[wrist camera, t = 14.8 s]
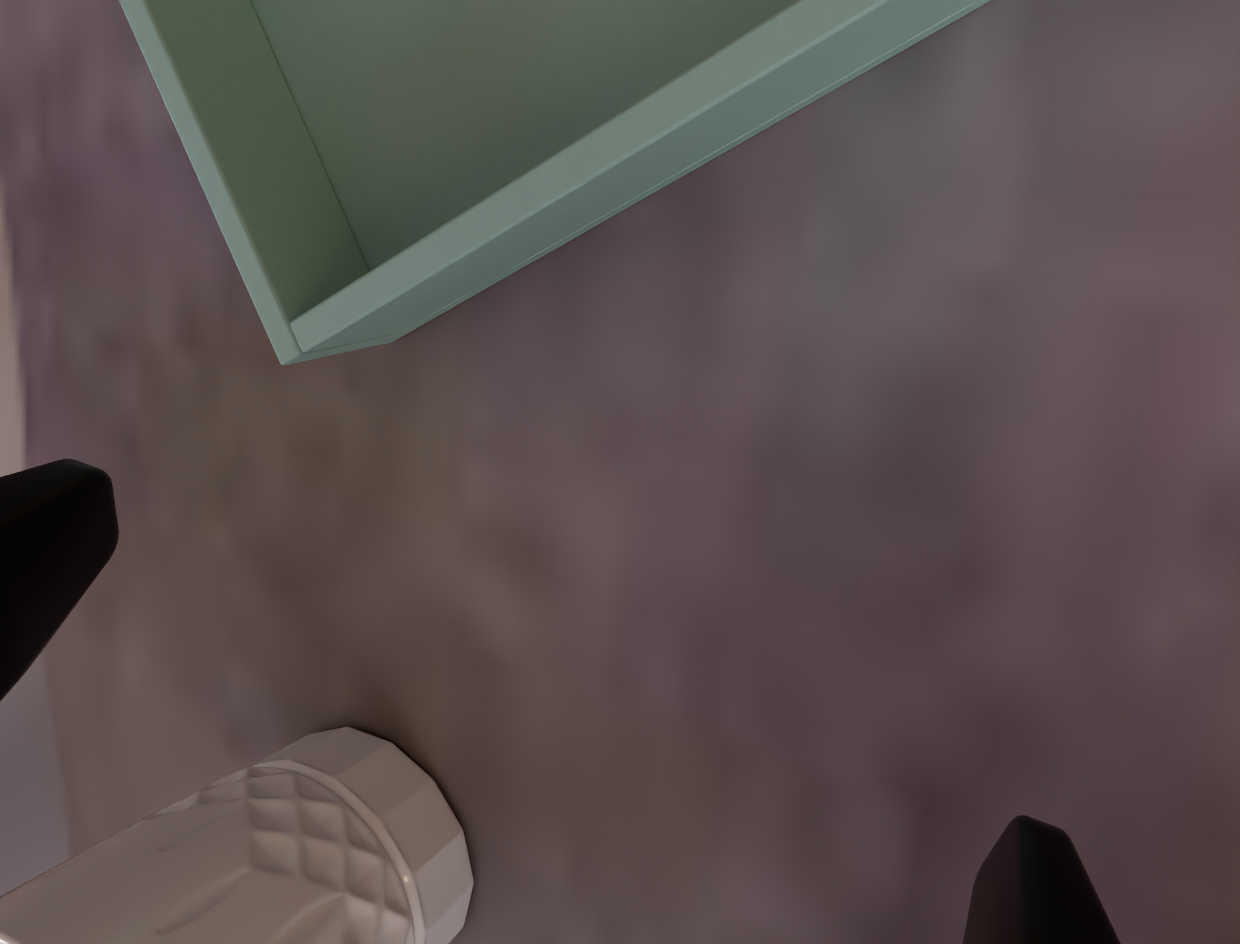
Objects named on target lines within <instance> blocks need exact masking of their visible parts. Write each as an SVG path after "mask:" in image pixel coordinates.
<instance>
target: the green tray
mask: <svg viewBox="0 0 1240 944" xmlns="http://www.w3.org/2000/svg"><path fill="white" fill-rule="evenodd" d="M119 1H120V4H121V6H122V8H123V10H124V13H125V15H126V17H127V19H128V22H129V24H130V26H131V28H132V31H133V33H134V35H135V37H136V40H137V42H138V44H139V46H140V49H141V51H142V53H143V55H144V58H145V60H146V62H147V64H148V67H149V69H150V71H151V73H152V76H153V78H154V80H155V82H156V85H157V87H158V89H159V91H160V94H161V96H162V98H163V100H164V103H165V105H166V107H167V109H168V112H169V114H170V116H171V118H172V121H173V123H174V125H175V127H176V130H177V132H178V134H179V136H180V139H181V141H182V143H183V145H184V148H185V150H186V152H187V154H188V157H189V159H190V161H191V163H192V166H193V168H194V170H195V172H196V175H197V177H198V179H199V181H200V184H201V186H202V188H203V190H204V193H205V195H206V197H207V199H208V202H209V204H210V206H211V208H212V211H213V213H214V215H215V217H216V220H217V222H218V224H219V226H220V229H221V231H222V233H223V235H224V238H225V240H226V242H227V244H228V247H229V249H230V251H231V253H232V256H233V258H234V260H235V262H236V265H237V267H238V269H239V271H240V274H241V276H242V278H243V280H244V283H245V285H246V287H247V289H248V292H249V294H250V296H251V298H252V301H253V303H254V305H255V307H256V310H257V312H258V314H259V316H260V319H261V321H262V323H263V325H264V328H265V330H266V332H267V334H268V337H269V339H270V341H271V343H272V346H273V348H274V350H275V352H276V355H277V357H278V359H279V361H280V363H281V364H282V365H288V364H293V363H297V362H302V361H307V360H311V359H316V358H320V357H325V356H330V355H334V354H339V353H343V352H348V351H353V350H357V349H362V348H366V347H371V346H376V345H379V344H386V343H391V342H394V341H395V340H397V339H399V338H401V337H402V336H404V335H406V334H408V333H409V332H411V331H413V330H415V329H416V328H418V327H420V326H422V325H423V324H425V323H427V322H429V321H430V320H432V319H434V318H436V317H437V316H439V315H441V314H443V313H444V312H446V311H448V310H450V309H451V308H453V307H455V306H457V305H458V304H460V303H462V302H464V301H465V300H467V299H469V298H471V297H472V296H474V295H476V294H478V293H479V292H481V291H483V290H485V289H486V288H488V287H490V286H492V285H493V284H495V283H497V282H499V281H500V280H502V279H504V278H506V277H507V276H509V275H511V274H513V273H514V272H516V271H518V270H520V269H521V268H523V267H525V266H527V265H528V264H530V263H532V262H534V261H535V260H537V259H539V258H541V257H542V256H544V255H546V254H548V253H549V252H551V251H553V250H555V249H556V248H558V247H560V246H562V245H563V244H565V243H567V242H569V241H570V240H572V239H574V238H576V237H577V236H579V235H581V234H583V233H584V232H586V231H588V230H590V229H591V228H593V227H595V226H597V225H598V224H600V223H602V222H604V221H605V220H607V219H609V218H611V217H612V216H614V215H616V214H618V213H619V212H621V211H623V210H625V209H626V208H628V207H630V206H632V205H633V204H635V203H637V202H639V201H640V200H642V199H644V198H646V197H647V196H649V195H651V194H653V193H654V192H656V191H658V190H660V189H662V188H663V187H665V186H667V185H669V184H670V183H672V182H674V181H676V180H677V179H679V178H681V177H683V176H684V175H686V174H688V173H690V172H691V171H693V170H695V169H697V168H698V167H700V166H702V165H704V164H705V163H707V162H709V161H711V160H712V159H714V158H716V157H718V156H719V155H721V154H723V153H725V152H726V151H728V150H730V149H732V148H733V147H735V146H737V145H739V144H740V143H742V142H744V141H746V140H747V139H749V138H751V137H753V136H754V135H756V134H758V133H760V132H761V131H763V130H765V129H767V128H768V127H770V126H772V125H774V124H775V123H777V122H779V121H781V120H782V119H784V118H786V117H788V116H789V115H791V114H793V113H795V112H796V111H798V110H800V109H802V108H803V107H805V106H807V105H809V104H810V103H812V102H814V101H816V100H817V99H819V98H821V97H823V96H824V95H826V94H828V93H830V92H831V91H833V90H835V89H837V88H838V87H840V86H842V85H844V84H845V83H847V82H849V81H851V80H852V79H854V78H856V77H858V76H859V75H861V74H863V73H865V72H866V71H868V70H870V69H872V68H873V67H875V66H877V65H879V64H880V63H882V62H884V61H886V60H887V59H889V58H891V57H893V56H894V55H896V54H898V53H900V52H901V51H903V50H905V49H907V48H908V47H910V46H912V45H914V44H915V43H917V42H919V41H921V40H922V39H924V38H926V37H928V36H929V35H931V34H933V33H935V32H936V31H938V30H940V29H942V28H943V27H945V26H947V25H949V24H950V23H952V22H954V21H956V20H957V19H959V18H961V17H963V16H964V15H966V14H968V13H970V12H971V11H973V10H975V9H977V8H978V7H980V6H982V5H984V4H985V3H987V2H989V1H991V0H119Z"/></svg>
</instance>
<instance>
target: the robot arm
mask: <svg viewBox="0 0 1240 944" xmlns="http://www.w3.org/2000/svg"><path fill="white" fill-rule="evenodd" d="M118 536H119V529H118V522H117V515H116V508H115V501H114V494H113V487H112V482H111V479H110V477H109V476H108V474H107V473H106V472H104V471H103V470H101V469H98V468H96V467H93V466H90V465H88V464H85V463H82V462H80V461H77V460H73V459H63V460H58V461H54V462H51V463H48V464H44V465H41V466H37V467H34V468H30V469H27V470H24V471H21V472H17V473H13V474H10V475H6V476H3V477H0V701H1V700H2V699H3V698H4V697H5V696H6V695H7V693H8V692H9V691H10V690H11V689H12V688H13V686H14V685H15V684H16V683H17V682H18V681H19V679H20V678H21V677H22V676H23V675H24V673H25V672H26V671H27V670H28V668H29V667H30V666H31V665H32V663H33V662H34V661H35V659H36V658H37V657H38V656H39V654H40V653H41V652H42V650H43V649H44V647H45V646H46V645H47V643H48V642H49V641H50V639H51V638H52V637H53V635H54V634H55V633H56V631H57V630H58V628H59V627H60V626H61V624H62V623H63V622H64V620H65V619H66V618H67V616H68V615H69V614H70V612H71V611H72V609H73V608H74V607H75V605H76V604H77V603H78V601H79V600H80V599H81V597H82V596H83V594H84V593H85V592H86V590H87V589H88V588H89V586H90V585H91V584H92V582H93V581H94V580H95V578H96V577H97V575H98V574H99V573H100V571H101V570H102V569H103V567H104V566H105V565H106V563H107V562H108V561H109V559H110V558H111V556H112V554H113V552H114V550H115V548H116V545H117V542H118ZM963 944H1121V943H1120V941H1119V939H1118V937H1117V935H1116V933H1115V931H1114V929H1113V927H1112V925H1111V922H1110V920H1109V918H1108V916H1107V914H1106V912H1105V910H1104V908H1103V906H1102V904H1101V902H1100V899H1099V897H1098V895H1097V893H1096V891H1095V889H1094V887H1093V885H1092V883H1091V881H1090V878H1089V876H1088V874H1087V872H1086V870H1085V868H1084V866H1083V864H1082V862H1081V860H1080V858H1079V855H1078V853H1077V851H1076V849H1075V847H1074V845H1073V843H1072V841H1071V839H1070V837H1069V836H1068V835H1067V834H1066V833H1065V832H1064V831H1063V830H1062V829H1060V828H1058V827H1055V826H1053V825H1050V824H1047V823H1045V822H1042V821H1039V820H1036V819H1034V818H1031V817H1028V816H1025V815H1020V816H1017V817H1015V818H1014V819H1013V820H1012V821H1011V822H1010V823H1009V825H1008V826H1007V828H1006V829H1005V831H1004V832H1003V834H1002V835H1001V837H1000V838H999V840H998V841H997V843H996V844H995V846H994V847H993V849H992V850H991V852H990V853H989V855H988V856H987V858H986V859H985V861H984V862H983V864H982V865H981V867H980V870H979V872H978V874H977V877H976V880H975V883H974V887H973V891H972V896H971V902H970V907H969V913H968V918H967V924H966V929H965V935H964V940H963Z"/></svg>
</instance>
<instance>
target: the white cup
mask: <svg viewBox="0 0 1240 944" xmlns="http://www.w3.org/2000/svg"><path fill="white" fill-rule="evenodd" d="M473 885H474V879H473V875H472V870H471V865H470V860H469V855H468V850H467V846H466V841H465V836H464V832H463V829H462V827H461V825H460V823H459V822H458V820H457V818H456V817H455V815H454V813H453V812H452V810H451V808H450V806H449V805H448V803H447V801H446V800H445V798H444V796H443V795H442V793H441V791H440V790H439V788H438V786H437V785H436V783H435V781H434V780H433V779H432V778H431V777H430V776H429V775H428V774H427V773H426V772H425V771H423V770H422V769H421V768H420V767H419V766H418V765H417V764H416V763H414V762H413V761H412V760H411V759H410V758H409V757H408V756H407V755H405V754H404V753H403V752H402V751H401V750H400V749H399V748H397V747H396V746H395V745H394V744H393V743H391V742H389V741H386V740H384V739H381V738H378V737H375V736H373V735H370V734H367V733H364V732H362V731H359V730H356V729H353V728H351V727H342V728H337V729H332V730H327V731H322V732H318V733H313V734H309V735H307V736H305V737H303V738H301V739H299V740H297V741H295V742H294V743H292V744H290V745H288V746H286V747H285V748H283V749H281V750H279V751H278V752H276V753H274V754H272V755H270V756H269V757H267V758H265V759H263V760H261V761H260V762H258V763H256V764H255V765H253V766H251V767H248V768H245V769H242V770H240V771H237V772H235V773H232V774H230V775H228V776H226V777H223V778H221V779H219V780H217V781H215V782H213V783H211V784H209V785H207V786H205V787H204V788H202V789H200V790H199V791H197V792H196V793H194V794H193V795H191V796H189V797H187V798H185V799H182V800H180V801H178V802H176V803H174V804H172V805H169V806H167V807H165V808H163V809H161V810H159V811H157V812H155V813H153V814H151V815H149V816H147V817H145V818H143V819H142V820H140V821H138V822H136V823H134V824H132V825H130V826H129V827H127V828H125V829H123V830H121V831H120V832H118V833H116V834H114V835H112V836H110V837H109V838H107V839H105V840H103V841H101V842H99V843H98V844H96V845H94V846H92V847H90V848H88V849H87V850H85V851H83V852H81V853H79V854H78V855H76V856H74V857H72V858H70V859H68V860H67V861H65V862H63V863H61V864H59V865H57V866H56V867H54V868H52V869H50V870H48V871H46V872H45V873H43V874H41V875H39V876H37V877H36V878H34V879H32V880H30V881H28V882H26V883H25V884H23V885H21V886H19V887H17V888H15V889H13V890H11V891H10V892H8V893H6V894H4V895H2V896H0V944H449V942H450V941H451V940H452V939H453V938H454V937H455V936H456V935H457V934H458V933H459V932H460V930H461V929H462V928H463V926H464V924H465V919H466V915H467V911H468V906H469V902H470V898H471V893H472V889H473Z"/></svg>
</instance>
